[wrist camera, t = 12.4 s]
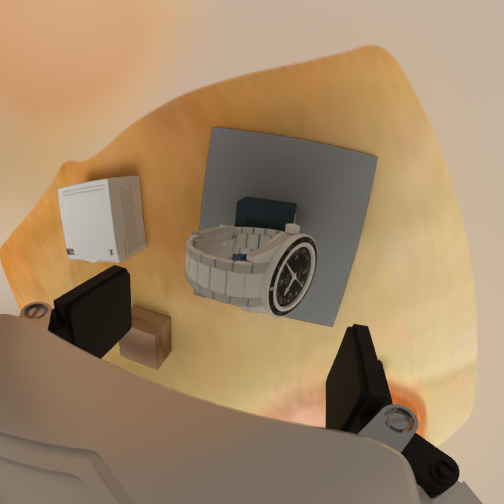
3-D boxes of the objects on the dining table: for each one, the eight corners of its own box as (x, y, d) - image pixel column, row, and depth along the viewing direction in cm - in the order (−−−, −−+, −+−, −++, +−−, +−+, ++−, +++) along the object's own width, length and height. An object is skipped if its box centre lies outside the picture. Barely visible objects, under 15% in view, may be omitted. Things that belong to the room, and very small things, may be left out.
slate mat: (332, 323, 26) (332, 326, 26) (195, 291, 28) (193, 294, 28) (376, 157, 21) (377, 157, 20) (214, 127, 23) (212, 127, 22)
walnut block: (172, 350, 32) (157, 370, 28) (137, 337, 33) (121, 355, 29) (171, 316, 30) (154, 335, 26) (134, 305, 31) (115, 321, 27)
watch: (309, 269, 24) (305, 344, 14) (221, 254, 26) (164, 313, 15) (321, 206, 23) (328, 243, 12) (226, 192, 24) (163, 217, 14)
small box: (141, 173, 26) (108, 177, 21) (149, 248, 28) (120, 265, 23) (88, 181, 27) (55, 187, 23) (96, 247, 30) (67, 261, 25)
